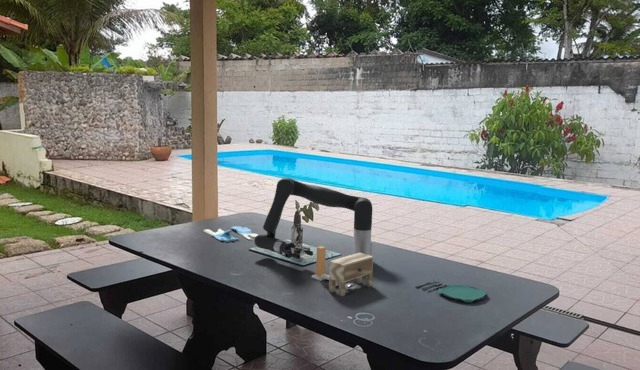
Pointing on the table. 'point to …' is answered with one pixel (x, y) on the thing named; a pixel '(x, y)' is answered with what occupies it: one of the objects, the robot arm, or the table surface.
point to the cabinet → (350, 271)
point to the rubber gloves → (227, 237)
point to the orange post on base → (321, 265)
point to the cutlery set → (458, 292)
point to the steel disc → (350, 286)
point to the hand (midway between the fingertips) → (306, 255)
